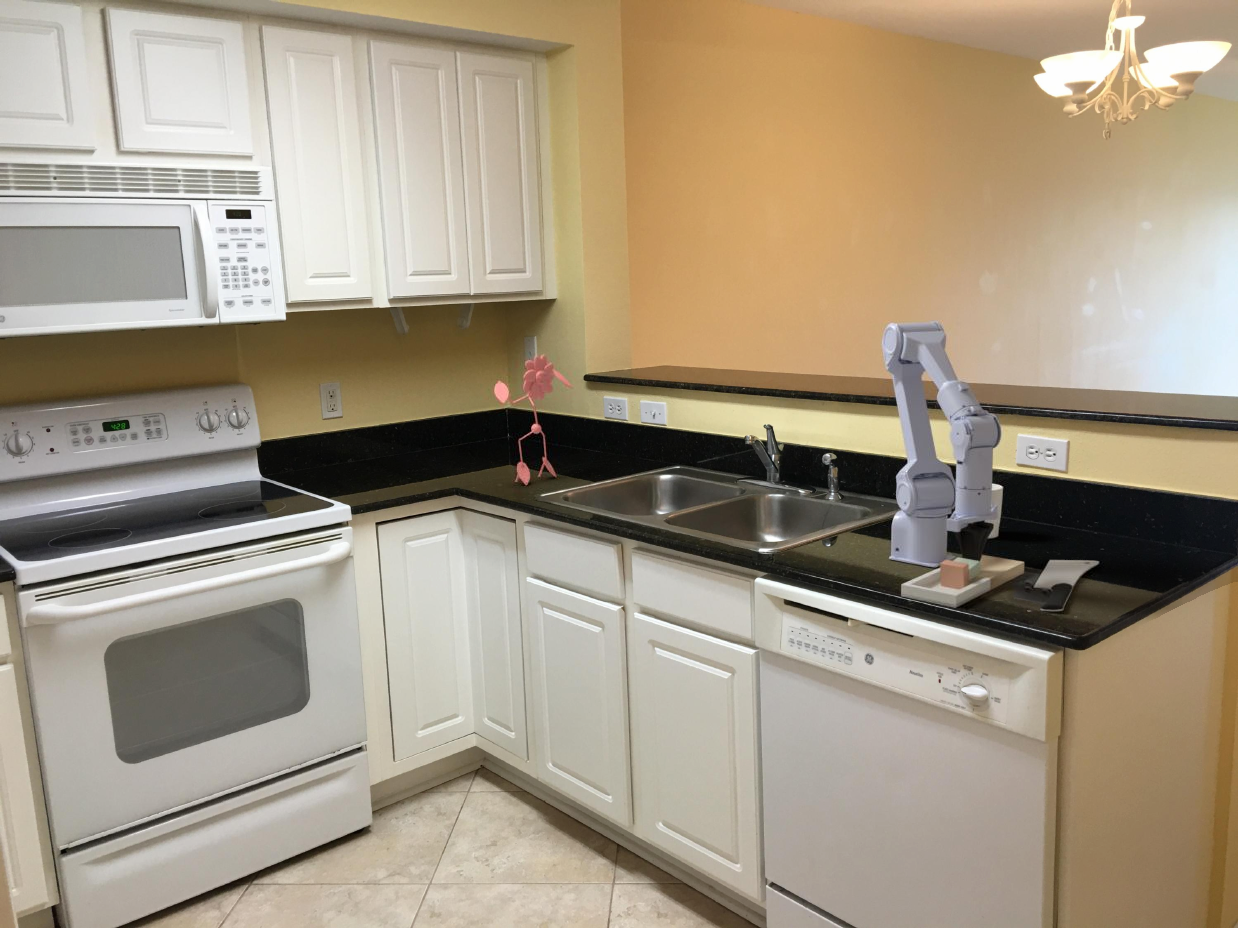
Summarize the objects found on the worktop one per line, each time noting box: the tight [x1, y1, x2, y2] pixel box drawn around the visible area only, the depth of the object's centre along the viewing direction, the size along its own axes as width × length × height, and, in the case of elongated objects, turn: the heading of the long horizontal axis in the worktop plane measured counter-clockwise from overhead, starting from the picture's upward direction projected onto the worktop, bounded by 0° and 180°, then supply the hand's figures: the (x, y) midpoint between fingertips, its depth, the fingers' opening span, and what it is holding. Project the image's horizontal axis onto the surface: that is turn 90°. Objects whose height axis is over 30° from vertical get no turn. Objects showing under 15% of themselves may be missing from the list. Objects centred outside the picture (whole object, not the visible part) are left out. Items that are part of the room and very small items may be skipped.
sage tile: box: [952, 556, 981, 581], centre depth 167 cm, size 4×4×2 cm
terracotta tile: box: [939, 560, 969, 590], centre depth 165 cm, size 4×4×2 cm
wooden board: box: [937, 554, 1025, 591], centre depth 172 cm, size 10×13×2 cm
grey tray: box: [900, 568, 991, 609], centre depth 164 cm, size 10×12×2 cm
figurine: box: [493, 354, 574, 487], centre depth 269 cm, size 15×26×35 cm, turn 140°
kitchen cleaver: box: [1033, 559, 1100, 615], centre depth 166 cm, size 31×2×10 cm
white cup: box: [985, 483, 1004, 539], centre depth 200 cm, size 8×8×10 cm
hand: (971, 564), depth 169 cm, fingers closed
